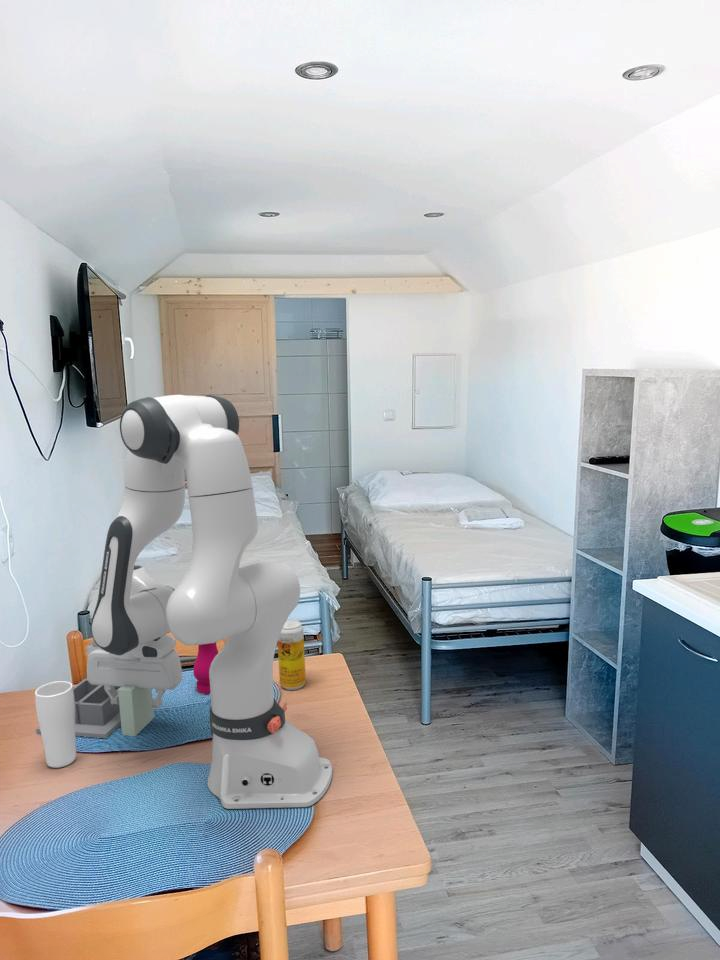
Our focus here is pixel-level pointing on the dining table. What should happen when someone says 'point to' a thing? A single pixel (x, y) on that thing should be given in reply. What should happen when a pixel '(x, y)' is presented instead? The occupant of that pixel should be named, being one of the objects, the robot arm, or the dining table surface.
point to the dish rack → (94, 711)
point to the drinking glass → (57, 722)
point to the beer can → (291, 656)
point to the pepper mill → (204, 666)
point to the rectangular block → (135, 708)
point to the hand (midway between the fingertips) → (136, 705)
